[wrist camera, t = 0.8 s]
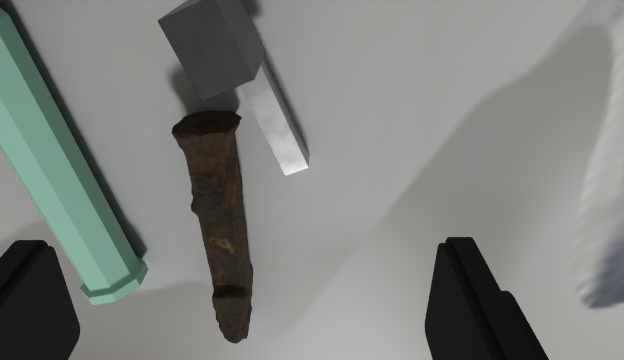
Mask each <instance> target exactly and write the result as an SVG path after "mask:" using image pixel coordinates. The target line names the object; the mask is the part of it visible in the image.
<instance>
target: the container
mask: <svg viewBox="0 0 624 360" xmlns="http://www.w3.org/2000/svg"><path fill="white" fill-rule="evenodd" d="M0 148H1V150H2V151H3V153H4V155H5V156H6V158H7V160H8V161H9V163H10V164H11V166H12V168H13V169H14V171H15V173H16V174H17V176H18V177H19V179H20V181H21V182H22V184H23V186H24V187H25V189H26V190H27V192H28V194H29V195H30V197H31V199H32V200H33V202H34V203H35V205H36V207H37V208H38V210H39V212H40V213H41V215H42V216H43V218H44V220H45V221H46V223H47V225H48V226H49V228H50V229H51V231H52V233H53V234H54V236H55V238H56V239H57V241H58V242H59V244H60V246H61V247H62V249H63V251H64V252H65V254H66V255H67V257H68V258H69V260H70V262H71V263H72V265H73V267H74V269H75V270H76V272H77V273H78V275H79V276H80V278H81V280H82V282H83V285H82V286H81V288H80V289H81V290H82V292H83V293H84V295H85V296H86V297H87V299H88V300H89V301H90V302H91V304H92V305H96V304H102V303H108V302H115V301H117V300H119V299H120V298H122V297H123V296H125V295H127V294H128V293H130V292H131V291H133V290H134V289H136V288H137V287H139V286H140V285H141V283H142V281H143V279H144V277H145V275H146V273H147V271H148V267H147V265H146V263H145V262H144V261H143V260H142V259H141V258H139V257H138V256H137V255H135V254H134V252H133V250H132V248H131V246H130V244H129V242H128V240H127V238H126V236H125V235H124V233H123V231H122V229H121V227H120V225H119V223H118V221H117V219H116V217H115V216H114V214H113V212H112V210H111V208H110V206H109V204H108V202H107V200H106V198H105V197H104V195H103V193H102V191H101V189H100V187H99V185H98V183H97V181H96V179H95V178H94V176H93V174H92V172H91V170H90V168H89V166H88V164H87V162H86V160H85V159H84V157H83V155H82V153H81V151H80V149H79V147H78V145H77V143H76V141H75V140H74V138H73V136H72V134H71V132H70V130H69V128H68V126H67V124H66V122H65V121H64V119H63V117H62V115H61V113H60V111H59V109H58V107H57V105H56V103H55V102H54V100H53V98H52V96H51V94H50V92H49V90H48V88H47V86H46V84H45V83H44V81H43V79H42V77H41V75H40V73H39V71H38V69H37V67H36V65H35V64H34V62H33V60H32V58H31V56H30V54H29V52H28V50H27V48H26V46H25V45H24V43H23V41H22V39H21V37H20V35H19V33H18V31H17V29H16V27H15V26H14V24H13V22H12V20H11V18H10V16H9V15H8V14H7V13H6V12H5V11H4V10H3V9H2V8H0Z"/></svg>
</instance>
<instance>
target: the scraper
mask: <svg viewBox="0 0 624 360" xmlns="http://www.w3.org/2000/svg"><path fill="white" fill-rule="evenodd" d="M158 23H159V24H160V26H161V28H162V30H163V32H164V33H165V35H166V37H167V39H168V41H169V43H170V44H171V46H172V48H173V50H174V52H175V53H176V55H177V57H178V59H179V61H180V62H181V64H182V66H183V68H184V70H185V72H186V73H187V75H188V77H189V79H190V81H191V82H192V84H193V86H194V88H195V90H196V91H197V93H198V95H199V97H200V99H201V101H203V100H205V99H208V98H210V97H213V96H215V95H218V94H220V93H223V92H225V91H228V90H230V89H233V88H235V87H238V86H241V88H242V90H243V92H244V94H245V96H246V98H247V100H248V102H249V104H250V106H251V108H252V110H253V112H254V114H255V116H256V118H257V120H258V122H259V124H260V126H261V128H262V130H263V132H264V134H265V136H266V138H267V140H268V142H269V144H270V146H271V148H272V150H273V152H274V154H275V156H276V158H277V160H278V162H279V164H280V166H281V168H282V170H283V172H284V174H285V176H286V175H289V174H292V173H295V172H298V171H300V170H303V169H306V168H309V153H308V151H307V149H306V147H305V144H304V142H303V140H302V138H301V136H300V134H299V131H298V129H297V127H296V125H295V123H294V121H293V118H292V116H291V114H290V112H289V110H288V108H287V105H286V103H285V101H284V99H283V97H282V95H281V92H280V90H279V88H278V86H277V84H276V81H275V79H274V77H273V75H272V73H271V71H270V68H269V66H268V64H267V62H266V60H265V58H264V56H265V53H266V51H265V49H264V47H263V45H262V42H261V40H260V38H259V36H258V34H257V31H256V29H255V27H254V25H253V23H252V20H251V18H250V16H249V14H248V12H247V10H246V7H245V5H244V3H243V1H242V0H188V1H186V2H184V3H183V4H181V5H180V6H178V7H177V8H175V9H174V10H172V11H171V12H170V13H168V14H167V15H165V16H164V17H162V18H161V19H159V20H158Z"/></svg>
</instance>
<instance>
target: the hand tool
mask: <svg viewBox="0 0 624 360" xmlns="http://www.w3.org/2000/svg"><path fill="white" fill-rule="evenodd" d="M241 118H242V117H241V116H239V115H237V114H236V113H234V112H231V111H229V112H219V111H205V112H199V113H195V114H192V115H188V116H186V117H184V118H183V119H182V120H181V121H180V122H179V123H177V124H176V125H174V127H173V128H172V134H173V136H174V137H175V139H176V140H177V143H178V145H179V147H180V148H181V149H183V151H184V154H185V156H186V160H187V165H188V169H189V175H190V179H191V183H192V195H193V201H192V204H191V210H192V212H194V213H195V214H196V215H197V216H198V218H199V222H200V227H201V231H202V236H203V241H204V246H205V249H206V254H207V259H208V263H209V267H210V272H211V276H212V283H213V287H214V292H213V296H212V302H213V305H214V306H213V307H214V309H215V311H216V320H217V322H218V323H219V328H220V330H221V331H222V333H223V335H224V338H226V339H227V340H228V341H230V342H232V343H238V342H240V341H241V340H242V339H244V338H247V336H248V330H249V323H250V315H251V311H252V306H251V297H252V283H253V269H252V266H251V265H250V261H249V250H248V239H247V227H246V220H245V216H244V206H243V194H242V188H243V187H242V177H241V174H240V167H239V163H238V159H237V150H236V139H235V131H236V130H237V128H238V125H239V123H240V120H241Z"/></svg>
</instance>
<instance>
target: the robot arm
mask: <svg viewBox="0 0 624 360" xmlns="http://www.w3.org/2000/svg"><path fill="white" fill-rule="evenodd" d="M425 334H426V338H427V341H428V345H429V348H430V351H431V355H432V358H433V360H549V359H548V357H547V355H546V353H545V352H544V350H543V348H542V346H541V345H540V343H539V341H538V339H537V337H536V336H535V334H534V332H533V330H532V329H531V327H530V325H529V323H528V321H527V320H526V318H525V316H524V314H523V312H522V310H521V309H520V307H519V305H518V303H517V302H516V300H515V298H514V297H513V295H512V294H511V293H510V292H508V291H501V290H500V288H499V286H498V284H497V283H496V281H495V279H494V277H493V275H492V273H491V271H490V269H489V267H488V266H487V264H486V262H485V260H484V258H483V256H482V254H481V253H480V251H479V249H478V247H477V245H476V243H475V241H474V240H473V238H471V237H448V238H447V239H446V242H445V243H440V244H439V245H438V249H437V255H436V261H435V267H434V272H433V278H432V284H431V290H430V295H429V301H428V307H427V313H426V319H425ZM79 335H80V325H79V322H78V319H77V316H76V313H75V310H74V307H73V304H72V300H71V298H70V295H69V291H68V289H67V286H66V282H65V279H64V276H63V274H62V270H61V267H60V264H59V261H58V258H57V255H56V252H55V250H54V248H53V247H52V246H48V245H47V243H46V242H45V241H43V240H18V241H15V242H14V243H13V244H12V245H11V246H10V247H9V249H8V250H7V251H6V252H5V253H4V254H3V255H2V256H1V258H0V360H68V358H69V356H70V355H71V352H72V351H73V349H74V347H75V345H76V343H77V341H78V339H79Z"/></svg>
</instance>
